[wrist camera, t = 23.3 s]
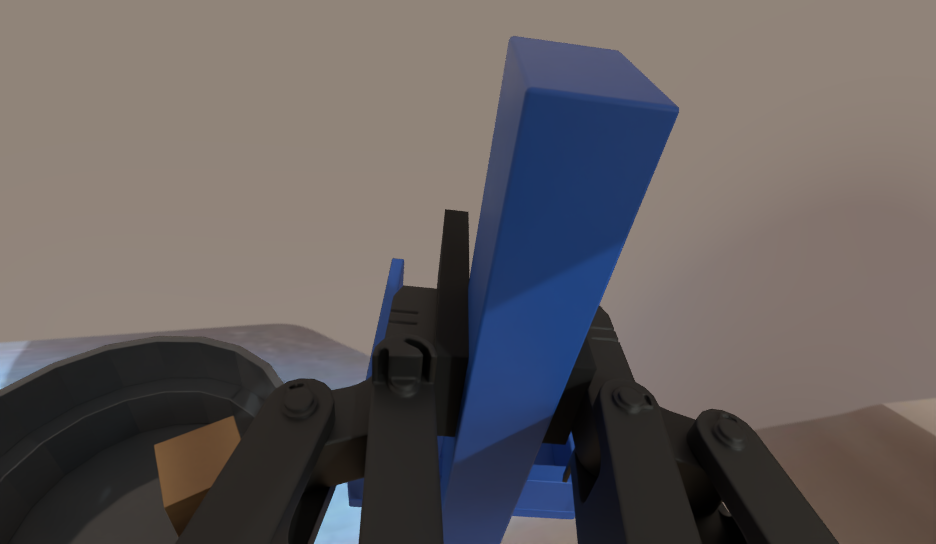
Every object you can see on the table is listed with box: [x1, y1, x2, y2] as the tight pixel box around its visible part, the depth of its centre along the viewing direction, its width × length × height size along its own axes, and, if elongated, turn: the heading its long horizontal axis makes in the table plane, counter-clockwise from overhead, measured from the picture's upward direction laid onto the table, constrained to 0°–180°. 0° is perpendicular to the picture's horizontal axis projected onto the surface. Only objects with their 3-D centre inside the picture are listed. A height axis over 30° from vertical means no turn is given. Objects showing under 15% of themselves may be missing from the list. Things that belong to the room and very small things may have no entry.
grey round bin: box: [0, 336, 284, 544], centre depth 24 cm, size 16×16×7 cm
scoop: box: [347, 36, 679, 544], centre depth 15 cm, size 12×8×15 cm, turn 1°
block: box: [154, 416, 241, 537], centre depth 26 cm, size 4×4×4 cm
